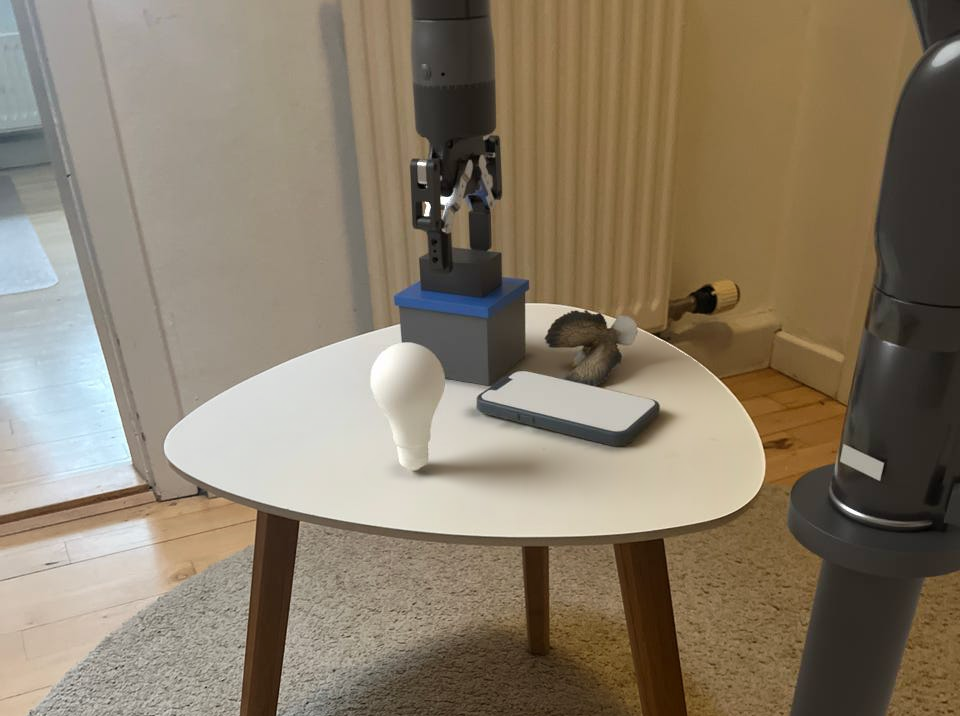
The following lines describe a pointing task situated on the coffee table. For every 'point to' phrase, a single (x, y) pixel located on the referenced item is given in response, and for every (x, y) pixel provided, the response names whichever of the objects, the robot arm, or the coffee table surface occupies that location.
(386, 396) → the lightbulb
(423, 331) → the container
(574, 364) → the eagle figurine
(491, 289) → the case
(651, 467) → the coffee table surface
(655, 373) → the coffee table surface
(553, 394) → the smartphone
